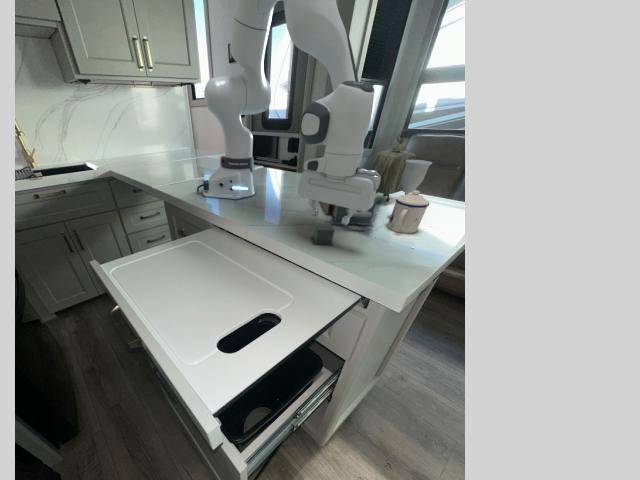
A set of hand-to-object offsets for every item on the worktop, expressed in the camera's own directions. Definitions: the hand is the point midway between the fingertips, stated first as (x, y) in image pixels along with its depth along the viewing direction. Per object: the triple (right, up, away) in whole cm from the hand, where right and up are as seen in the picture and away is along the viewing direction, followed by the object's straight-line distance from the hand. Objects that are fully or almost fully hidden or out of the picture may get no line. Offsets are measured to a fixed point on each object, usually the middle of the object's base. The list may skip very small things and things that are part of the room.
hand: (328, 219), depth 74 cm
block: (-1, -5, +4) cm, 7 cm away
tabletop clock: (+34, +18, +35) cm, 52 cm away
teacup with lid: (+27, 0, +11) cm, 29 cm away
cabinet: (+13, +13, +27) cm, 32 cm away
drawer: (+12, +6, +17) cm, 22 cm away
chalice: (+31, +6, +19) cm, 36 cm away
